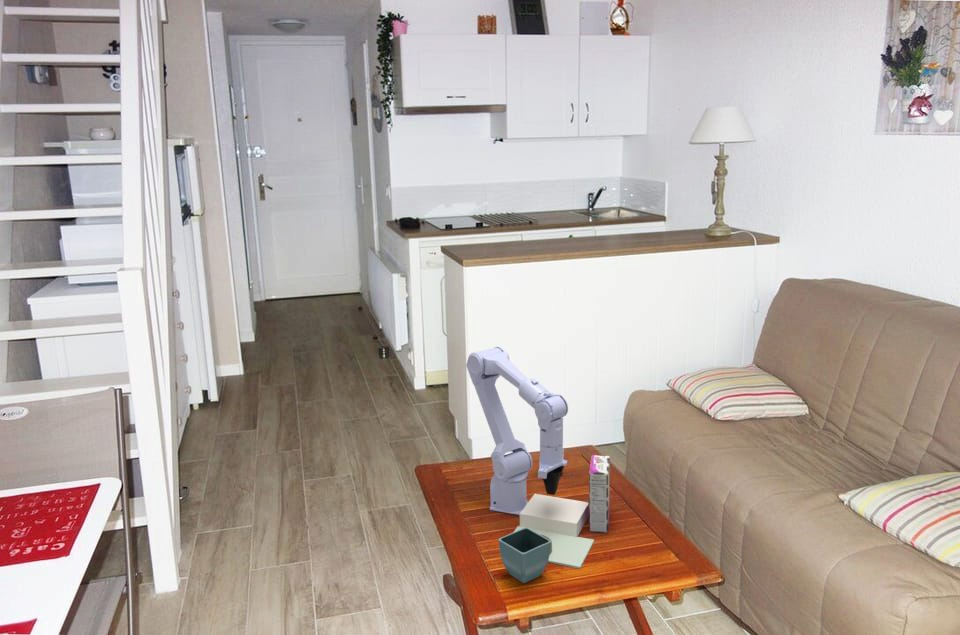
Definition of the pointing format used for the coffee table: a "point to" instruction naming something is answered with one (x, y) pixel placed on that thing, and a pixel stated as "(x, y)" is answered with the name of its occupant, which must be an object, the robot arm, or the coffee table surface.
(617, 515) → the coffee table surface
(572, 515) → the riser
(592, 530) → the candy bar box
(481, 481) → the coffee table surface
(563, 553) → the placemat
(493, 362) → the robot arm
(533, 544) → the flower pot
